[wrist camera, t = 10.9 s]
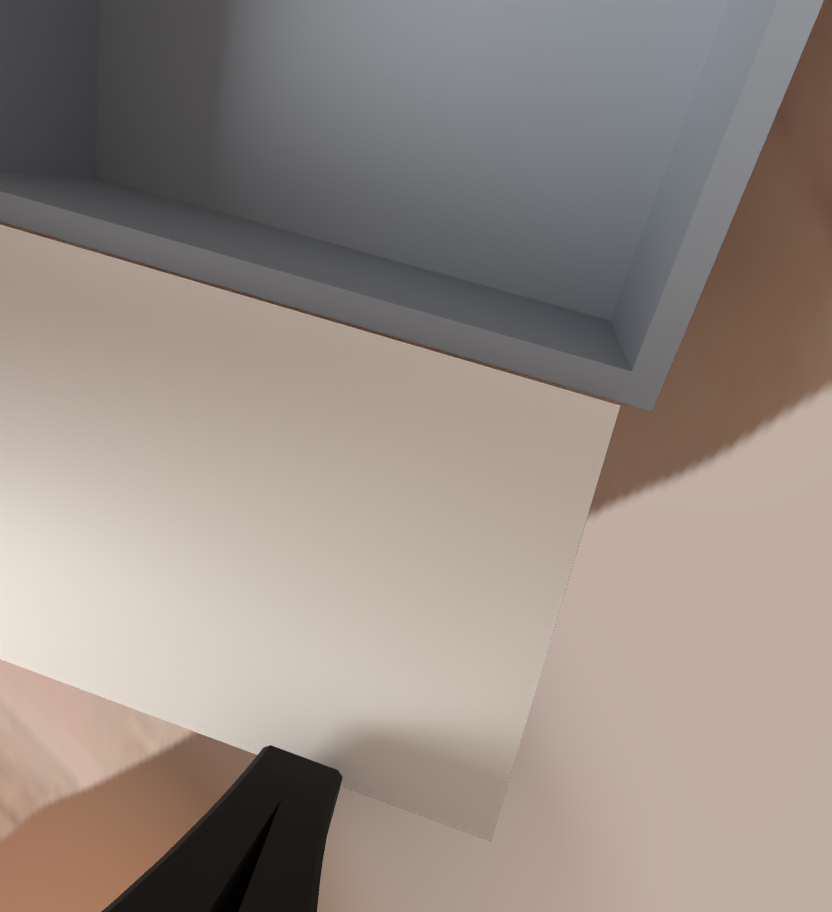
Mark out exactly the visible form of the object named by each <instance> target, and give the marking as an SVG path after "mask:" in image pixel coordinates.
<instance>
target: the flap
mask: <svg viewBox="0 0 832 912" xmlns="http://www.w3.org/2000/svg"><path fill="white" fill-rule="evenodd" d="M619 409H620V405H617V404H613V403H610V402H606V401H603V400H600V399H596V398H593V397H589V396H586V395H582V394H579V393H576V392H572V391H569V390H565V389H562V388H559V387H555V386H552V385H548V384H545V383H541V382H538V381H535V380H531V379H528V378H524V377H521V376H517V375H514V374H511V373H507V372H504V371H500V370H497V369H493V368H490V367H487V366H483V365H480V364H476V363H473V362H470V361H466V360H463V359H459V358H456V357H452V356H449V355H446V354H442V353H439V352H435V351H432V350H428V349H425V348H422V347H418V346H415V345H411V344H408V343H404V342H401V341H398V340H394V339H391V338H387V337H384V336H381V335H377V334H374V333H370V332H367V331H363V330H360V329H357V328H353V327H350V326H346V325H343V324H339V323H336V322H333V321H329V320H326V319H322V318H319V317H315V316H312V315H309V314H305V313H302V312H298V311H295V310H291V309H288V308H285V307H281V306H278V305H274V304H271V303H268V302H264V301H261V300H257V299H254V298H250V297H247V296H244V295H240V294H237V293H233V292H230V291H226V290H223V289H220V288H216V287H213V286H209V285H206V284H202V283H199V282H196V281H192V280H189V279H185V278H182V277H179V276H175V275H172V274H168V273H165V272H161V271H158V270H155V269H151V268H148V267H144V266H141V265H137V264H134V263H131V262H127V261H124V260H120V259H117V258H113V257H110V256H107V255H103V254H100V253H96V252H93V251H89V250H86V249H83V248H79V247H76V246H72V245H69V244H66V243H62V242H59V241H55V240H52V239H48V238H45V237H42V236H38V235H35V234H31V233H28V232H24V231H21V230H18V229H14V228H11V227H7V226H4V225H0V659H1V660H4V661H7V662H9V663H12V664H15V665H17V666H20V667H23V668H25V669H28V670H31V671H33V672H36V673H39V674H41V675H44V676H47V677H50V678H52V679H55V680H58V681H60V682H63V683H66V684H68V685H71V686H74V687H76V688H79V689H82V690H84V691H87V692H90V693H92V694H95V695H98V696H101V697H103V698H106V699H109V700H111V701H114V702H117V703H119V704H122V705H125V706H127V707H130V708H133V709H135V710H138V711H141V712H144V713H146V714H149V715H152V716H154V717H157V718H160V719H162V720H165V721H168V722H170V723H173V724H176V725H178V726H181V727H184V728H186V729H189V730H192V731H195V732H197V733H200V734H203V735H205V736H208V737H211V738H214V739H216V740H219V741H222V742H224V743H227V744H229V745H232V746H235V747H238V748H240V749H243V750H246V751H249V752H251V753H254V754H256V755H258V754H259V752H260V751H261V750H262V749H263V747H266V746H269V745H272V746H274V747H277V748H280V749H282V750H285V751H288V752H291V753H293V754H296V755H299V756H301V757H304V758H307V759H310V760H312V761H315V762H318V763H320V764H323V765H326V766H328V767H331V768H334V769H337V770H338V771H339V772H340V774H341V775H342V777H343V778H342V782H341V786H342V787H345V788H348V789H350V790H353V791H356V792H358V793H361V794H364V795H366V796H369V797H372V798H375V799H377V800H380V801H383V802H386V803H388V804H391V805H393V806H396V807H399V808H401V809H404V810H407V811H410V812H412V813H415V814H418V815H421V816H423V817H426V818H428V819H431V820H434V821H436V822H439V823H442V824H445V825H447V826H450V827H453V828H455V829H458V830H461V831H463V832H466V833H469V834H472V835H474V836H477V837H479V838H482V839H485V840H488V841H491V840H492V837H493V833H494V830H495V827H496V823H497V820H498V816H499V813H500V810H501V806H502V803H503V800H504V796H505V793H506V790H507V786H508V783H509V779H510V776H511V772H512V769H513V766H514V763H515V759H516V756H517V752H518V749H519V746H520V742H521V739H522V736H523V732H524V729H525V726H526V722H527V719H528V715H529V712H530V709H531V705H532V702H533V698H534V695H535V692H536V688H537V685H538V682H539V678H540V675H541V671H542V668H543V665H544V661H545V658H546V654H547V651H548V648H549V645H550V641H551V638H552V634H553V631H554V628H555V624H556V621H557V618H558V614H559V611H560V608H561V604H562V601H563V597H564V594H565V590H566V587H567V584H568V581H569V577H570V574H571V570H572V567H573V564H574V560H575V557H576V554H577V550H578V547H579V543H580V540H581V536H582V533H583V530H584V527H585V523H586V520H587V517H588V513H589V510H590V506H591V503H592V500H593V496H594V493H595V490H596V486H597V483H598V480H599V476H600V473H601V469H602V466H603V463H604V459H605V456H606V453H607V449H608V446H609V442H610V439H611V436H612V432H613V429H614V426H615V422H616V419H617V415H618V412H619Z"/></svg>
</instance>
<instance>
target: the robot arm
mask: <svg viewBox="0 0 832 912" xmlns="http://www.w3.org/2000/svg"><path fill="white" fill-rule="evenodd" d="M342 778H343V777H342V775H341V774H340V772H339V771H338V770H337V769H334V768H331V767H328V766H326V765H323V764H320V763H318V762H315V761H312V760H310V759H307V758H304V757H301V756H299V755H296V754H293V753H291V752H288V751H285V750H282V749H280V748H277V747H274V746H272V745H269V746H266V747H263V749H262V750H261V751H260V752H259V754H258V755H257V757H256V758H255V759H254V760H253V762H252V763H251V764H250V765H249V767H248V768H247V769H246V770H245V771H244V772H243V773H242V775H241V776H240V777H239V778H238V779H237V780H236V782H235V783H234V784H233V785H232V786H231V787H230V788H229V789H228V790H227V792H226V793H225V794H224V795H223V796H222V797H221V798H220V799H219V800H218V801H217V803H215V804H214V806H213V807H212V808H211V809H210V810H209V811H208V812H207V813H206V814H205V815H204V816H203V817H202V818H201V819H200V820H199V821H198V822H197V823H196V824H195V825H194V826H193V827H192V828H191V829H190V830H189V831H188V832H187V833H186V834H185V835H184V836H183V837H182V838H181V839H180V840H179V841H178V842H177V843H176V844H175V845H174V846H173V847H172V848H171V849H170V850H169V851H168V852H167V853H166V854H165V855H164V856H163V857H162V858H161V859H160V860H158V862H156V863H155V864H154V865H153V866H152V867H151V868H150V869H149V870H148V871H146V872H145V873H144V874H143V875H142V876H141V877H140V878H139V879H138V880H137V881H135V882H134V884H132V885H131V886H130V887H129V888H128V889H127V890H126V891H124V892H123V893H122V894H121V895H120V896H119V897H118V898H117V899H116V900H114V902H112V903H111V904H110V905H109V906H108V907H107V908H105V909H104V910H103V911H102V912H317V904H318V895H319V885H320V876H321V869H322V861H323V855H324V849H325V843H326V838H327V834H328V830H329V826H330V823H331V819H332V815H333V812H334V808H335V804H336V800H337V797H338V793H339V789H340V786H341V782H342Z"/></svg>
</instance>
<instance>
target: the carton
mask: <svg viewBox="0 0 832 912" xmlns="http://www.w3.org/2000/svg"><path fill="white" fill-rule="evenodd" d="M823 2H824V0H0V222H2V223H6V224H9V225H13V226H16V227H20V228H23V229H26V230H30V231H33V232H37V233H40V234H44V235H47V236H51V237H54V238H57V239H61V240H64V241H68V242H71V243H75V244H78V245H81V246H85V247H88V248H92V249H95V250H99V251H102V252H105V253H109V254H112V255H116V256H119V257H123V258H126V259H129V260H133V261H136V262H140V263H143V264H147V265H150V266H153V267H157V268H160V269H164V270H167V271H171V272H174V273H177V274H181V275H184V276H188V277H191V278H195V279H198V280H201V281H205V282H208V283H212V284H215V285H219V286H222V287H225V288H229V289H232V290H236V291H239V292H243V293H246V294H249V295H253V296H256V297H260V298H263V299H267V300H270V301H273V302H277V303H280V304H284V305H287V306H291V307H294V308H297V309H301V310H304V311H308V312H311V313H315V314H318V315H321V316H325V317H328V318H332V319H335V320H339V321H342V322H345V323H349V324H352V325H356V326H359V327H363V328H366V329H369V330H373V331H376V332H380V333H383V334H387V335H390V336H393V337H397V338H400V339H404V340H407V341H411V342H414V343H417V344H421V345H424V346H428V347H431V348H435V349H438V350H441V351H445V352H448V353H452V354H455V355H459V356H462V357H465V358H469V359H472V360H476V361H479V362H483V363H486V364H489V365H493V366H496V367H500V368H503V369H507V370H510V371H513V372H517V373H520V374H524V375H527V376H531V377H534V378H537V379H541V380H544V381H548V382H551V383H555V384H558V385H561V386H565V387H568V388H572V389H575V390H579V391H582V392H585V393H589V394H592V395H596V396H599V397H603V398H606V399H609V400H613V401H616V402H620V403H623V404H627V405H630V406H633V407H637V408H640V409H644V410H647V411H651V412H652V411H653V408H654V406H655V403H656V401H657V399H658V396H659V394H660V392H661V389H662V387H663V384H664V382H665V380H666V377H667V375H668V372H669V370H670V368H671V365H672V363H673V360H674V358H675V356H676V353H677V351H678V348H679V346H680V344H681V341H682V339H683V336H684V334H685V332H686V329H687V327H688V325H689V322H690V320H691V317H692V315H693V313H694V310H695V308H696V305H697V303H698V301H699V298H700V296H701V293H702V291H703V289H704V286H705V284H706V281H707V279H708V277H709V274H710V272H711V270H712V267H713V265H714V262H715V260H716V258H717V255H718V253H719V250H720V248H721V246H722V243H723V241H724V238H725V236H726V234H727V231H728V229H729V226H730V224H731V222H732V219H733V217H734V215H735V212H736V210H737V207H738V205H739V203H740V200H741V198H742V195H743V193H744V191H745V188H746V186H747V183H748V181H749V179H750V176H751V174H752V171H753V169H754V167H755V164H756V162H757V160H758V157H759V155H760V152H761V150H762V148H763V145H764V143H765V140H766V138H767V136H768V133H769V131H770V128H771V126H772V124H773V121H774V119H775V116H776V114H777V112H778V109H779V107H780V105H781V102H782V100H783V97H784V95H785V93H786V90H787V88H788V85H789V83H790V81H791V78H792V76H793V73H794V71H795V69H796V66H797V64H798V61H799V59H800V57H801V54H802V52H803V50H804V47H805V45H806V42H807V40H808V38H809V35H810V33H811V30H812V28H813V26H814V23H815V21H816V18H817V16H818V14H819V11H820V9H821V6H822V4H823Z"/></svg>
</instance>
